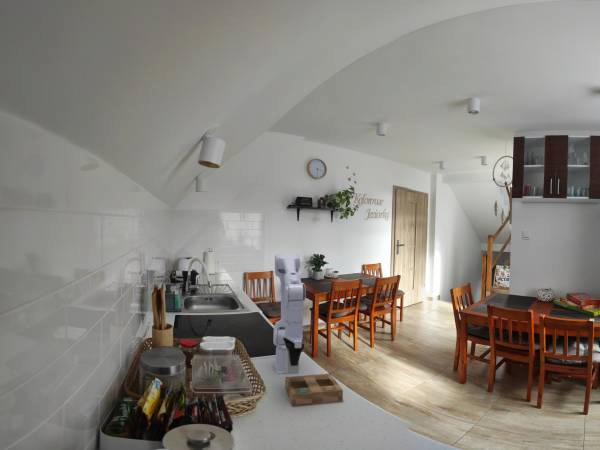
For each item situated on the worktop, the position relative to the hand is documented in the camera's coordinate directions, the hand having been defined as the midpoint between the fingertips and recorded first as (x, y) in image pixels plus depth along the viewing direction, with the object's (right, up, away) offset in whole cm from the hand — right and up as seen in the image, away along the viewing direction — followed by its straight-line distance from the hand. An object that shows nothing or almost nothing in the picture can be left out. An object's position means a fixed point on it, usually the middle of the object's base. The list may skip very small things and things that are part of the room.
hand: (292, 362), depth 105 cm
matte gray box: (0, -3, 0) cm, 3 cm away
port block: (+6, -10, 0) cm, 12 cm away
